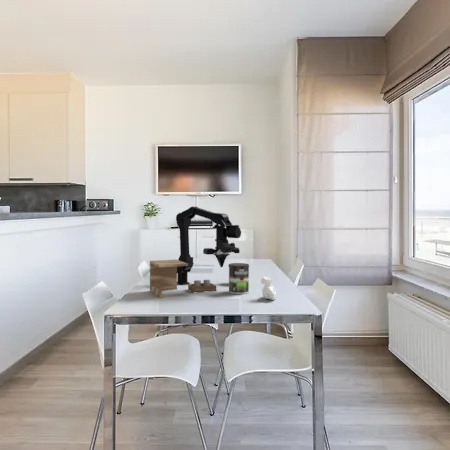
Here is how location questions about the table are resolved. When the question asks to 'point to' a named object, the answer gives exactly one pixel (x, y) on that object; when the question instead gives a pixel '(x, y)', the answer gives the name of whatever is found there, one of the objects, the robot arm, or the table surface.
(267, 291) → the duck figurine
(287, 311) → the table surface
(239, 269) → the coffee can
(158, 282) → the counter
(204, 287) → the tray
